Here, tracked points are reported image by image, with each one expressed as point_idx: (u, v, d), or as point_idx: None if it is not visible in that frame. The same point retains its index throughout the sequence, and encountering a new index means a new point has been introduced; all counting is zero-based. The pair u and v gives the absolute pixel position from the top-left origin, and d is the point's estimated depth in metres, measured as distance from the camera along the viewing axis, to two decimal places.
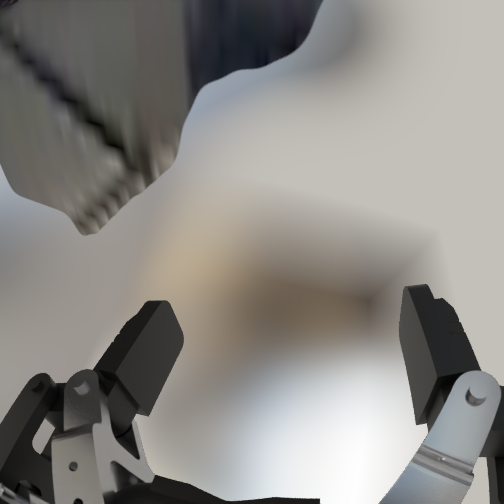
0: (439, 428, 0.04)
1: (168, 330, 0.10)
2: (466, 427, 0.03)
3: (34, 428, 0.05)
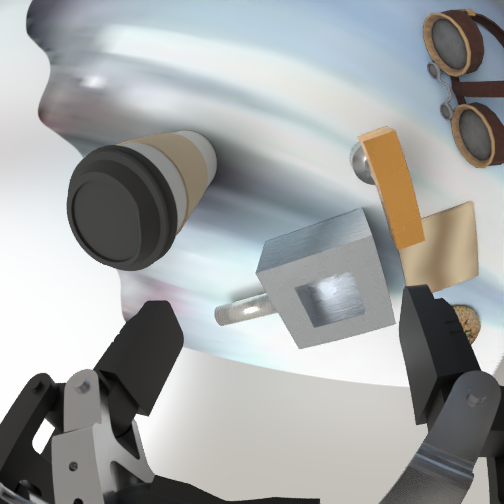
0: (439, 428, 0.04)
1: (168, 330, 0.10)
2: (466, 427, 0.03)
3: (34, 428, 0.05)
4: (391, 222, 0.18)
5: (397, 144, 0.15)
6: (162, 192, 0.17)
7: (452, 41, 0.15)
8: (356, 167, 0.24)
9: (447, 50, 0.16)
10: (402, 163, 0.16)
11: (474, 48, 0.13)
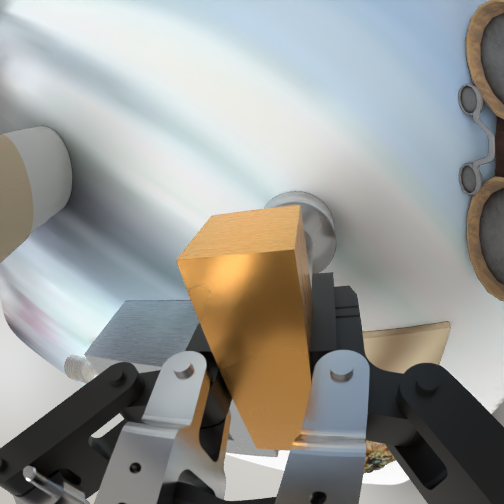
0: (313, 412, 0.05)
1: None
2: (341, 403, 0.05)
3: (98, 423, 0.06)
4: (245, 420, 0.08)
5: (291, 292, 0.05)
6: None
7: None
8: None
9: None
10: (295, 341, 0.06)
11: None
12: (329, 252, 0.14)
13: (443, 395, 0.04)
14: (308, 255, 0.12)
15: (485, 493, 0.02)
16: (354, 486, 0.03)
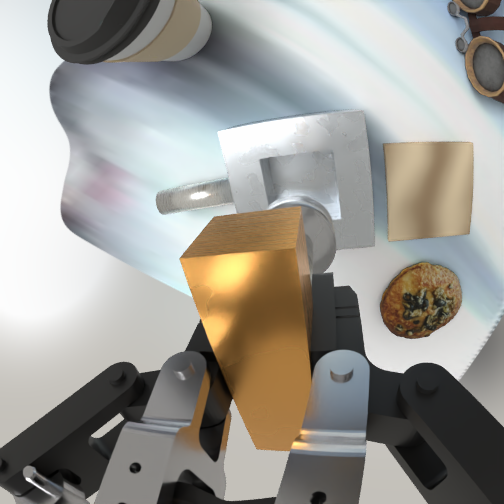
0: (312, 412, 0.05)
1: None
2: (341, 403, 0.05)
3: (98, 423, 0.06)
4: (245, 420, 0.08)
5: (292, 291, 0.05)
6: None
7: None
8: None
9: None
10: (295, 340, 0.06)
11: None
12: (329, 255, 0.14)
13: (443, 395, 0.04)
14: (309, 257, 0.12)
15: (485, 493, 0.02)
16: (354, 486, 0.03)
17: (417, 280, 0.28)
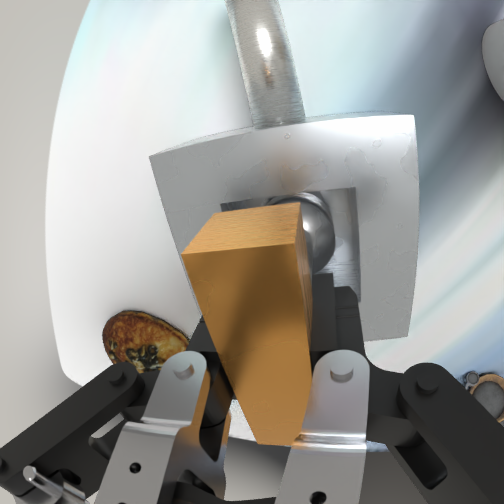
0: (312, 412, 0.05)
1: None
2: (341, 403, 0.05)
3: (98, 423, 0.06)
4: (247, 415, 0.08)
5: (292, 285, 0.06)
6: None
7: (491, 406, 0.19)
8: None
9: (484, 397, 0.20)
10: (295, 333, 0.06)
11: None
12: (329, 250, 0.14)
13: (443, 395, 0.04)
14: (308, 253, 0.12)
15: (485, 493, 0.02)
16: (354, 486, 0.03)
17: None
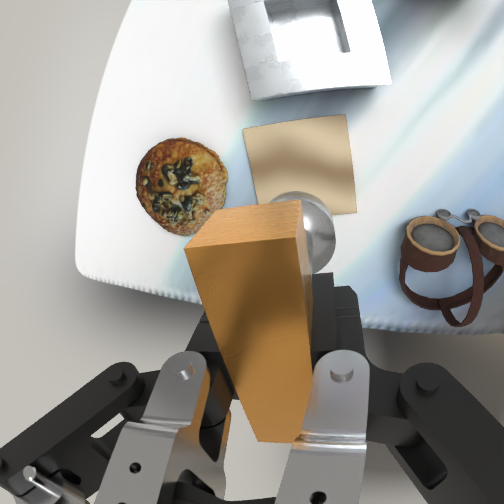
0: (312, 412, 0.05)
1: None
2: (341, 403, 0.05)
3: (98, 423, 0.06)
4: (247, 411, 0.08)
5: (293, 279, 0.06)
6: None
7: (499, 238, 0.23)
8: None
9: (490, 231, 0.24)
10: (296, 327, 0.06)
11: (498, 255, 0.22)
12: (329, 250, 0.14)
13: (443, 395, 0.04)
14: (308, 252, 0.12)
15: (485, 493, 0.02)
16: (354, 486, 0.03)
17: (207, 169, 0.28)
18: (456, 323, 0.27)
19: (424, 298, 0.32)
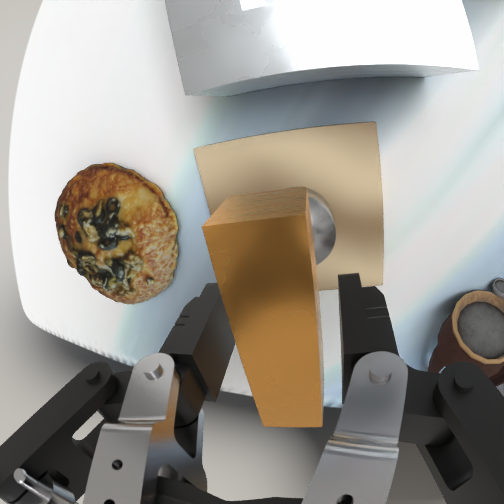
0: (348, 412, 0.05)
1: None
2: (377, 405, 0.05)
3: (79, 421, 0.06)
4: (254, 393, 0.09)
5: (302, 254, 0.06)
6: None
7: None
8: None
9: None
10: (304, 302, 0.07)
11: None
12: (329, 243, 0.15)
13: (477, 394, 0.04)
14: None
15: None
16: (382, 492, 0.03)
17: (143, 216, 0.17)
18: None
19: None
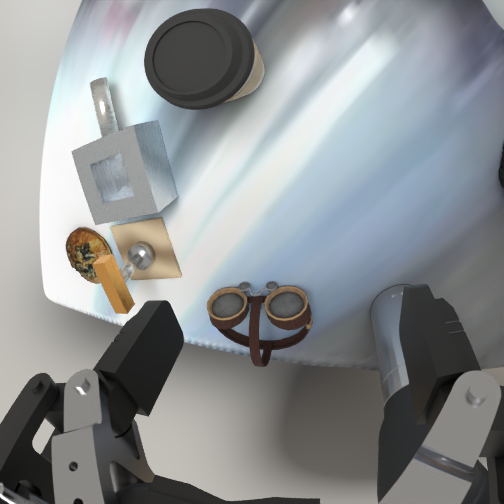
0: (439, 428, 0.04)
1: (168, 330, 0.10)
2: (466, 427, 0.03)
3: (34, 428, 0.05)
4: (109, 300, 0.37)
5: (105, 269, 0.34)
6: (200, 106, 0.21)
7: (287, 308, 0.40)
8: (129, 258, 0.43)
9: (282, 301, 0.41)
10: (108, 277, 0.34)
11: (280, 322, 0.39)
12: (148, 261, 0.42)
13: None
14: (135, 262, 0.40)
15: None
16: None
17: (98, 249, 0.44)
18: (264, 362, 0.44)
19: None
